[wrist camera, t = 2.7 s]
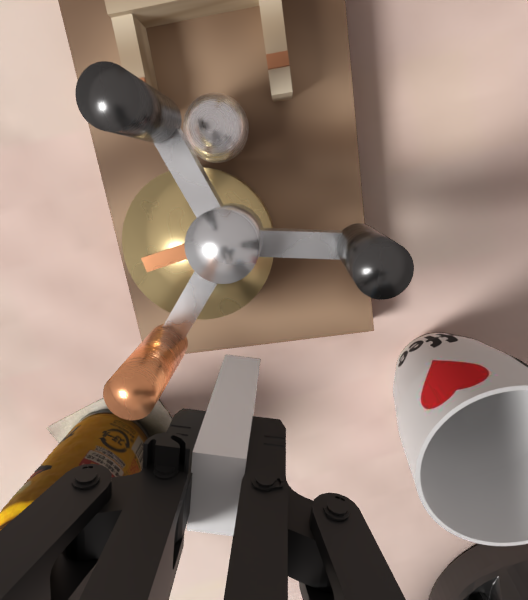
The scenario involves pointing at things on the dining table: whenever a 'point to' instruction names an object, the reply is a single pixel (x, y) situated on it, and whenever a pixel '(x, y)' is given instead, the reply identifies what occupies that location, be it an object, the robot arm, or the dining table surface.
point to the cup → (466, 435)
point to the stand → (260, 144)
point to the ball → (216, 127)
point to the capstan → (204, 237)
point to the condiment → (90, 449)
